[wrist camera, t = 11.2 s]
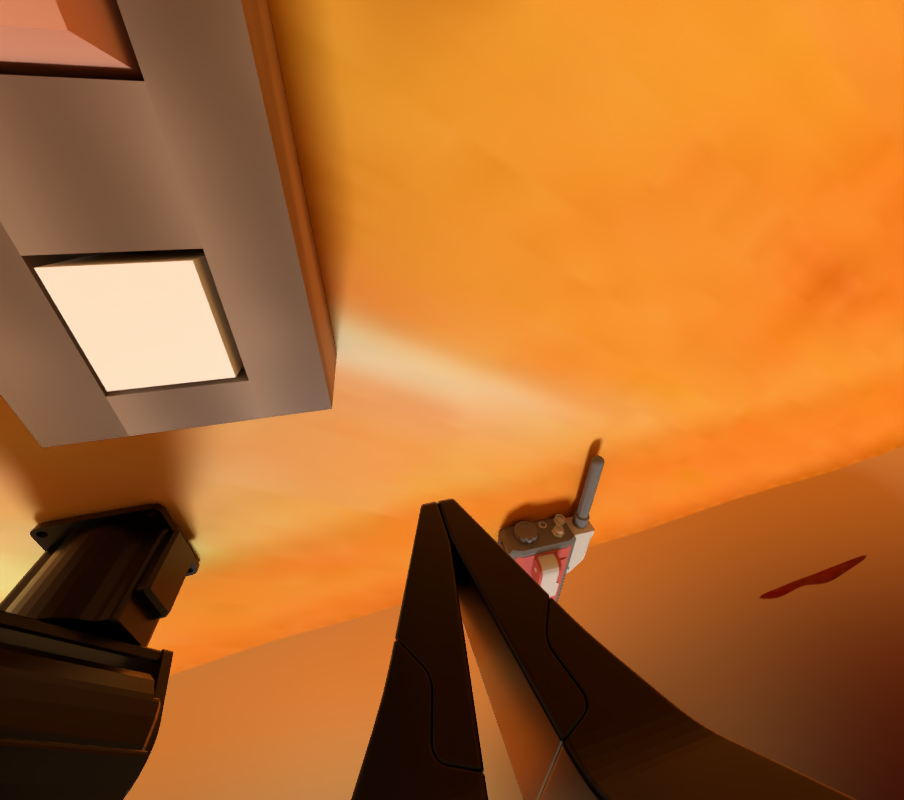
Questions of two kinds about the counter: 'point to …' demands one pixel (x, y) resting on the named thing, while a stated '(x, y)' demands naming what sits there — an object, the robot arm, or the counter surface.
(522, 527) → the walkie-talkie
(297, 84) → the counter surface
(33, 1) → the plug terracotta
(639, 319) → the counter surface
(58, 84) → the socket board
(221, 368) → the cream plug
